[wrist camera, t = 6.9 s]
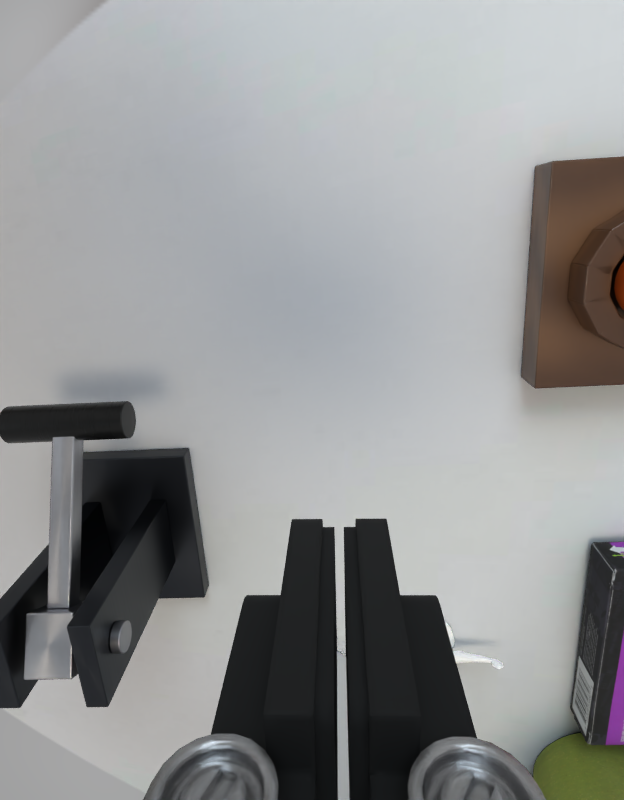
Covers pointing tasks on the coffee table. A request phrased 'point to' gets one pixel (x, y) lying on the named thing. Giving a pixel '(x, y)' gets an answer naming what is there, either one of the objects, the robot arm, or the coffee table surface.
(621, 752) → the flower pot
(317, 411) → the coffee table surface
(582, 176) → the block
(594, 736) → the box
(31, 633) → the switch lever
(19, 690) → the switch bracket
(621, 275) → the button
